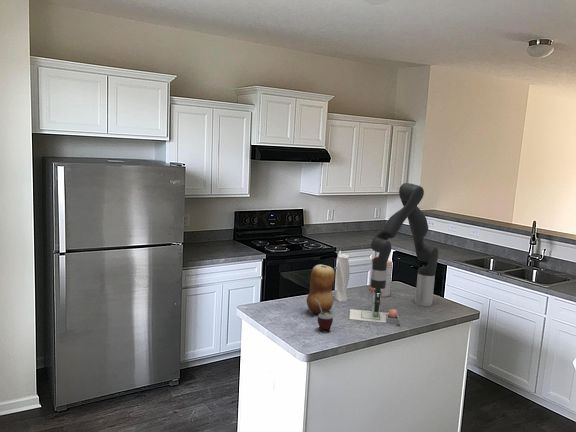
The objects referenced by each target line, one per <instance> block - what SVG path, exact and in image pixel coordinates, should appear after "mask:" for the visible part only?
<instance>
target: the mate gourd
mask: <svg viewBox="0 0 576 432" xmlns="http://www.w3.org/2000/svg"><path fill="white" fill-rule="evenodd" d="M314 300H315V299H314ZM315 301H317V300H315ZM317 302H318V301H317ZM318 304H319V307H320V310H321V313H320V314H318V316H317V324H318V329H319V332H320V333H321V332H327V333H331V327H332V325H333V322H334V319H333V318H334V317H333V315H332V313H331V312H329V311H328V312H322V309H321V306H320V303H319V302H318Z"/></svg>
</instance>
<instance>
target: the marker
mask: <svg viewBox="0 0 576 432" xmlns="http://www.w3.org/2000/svg"><path fill="white" fill-rule="evenodd" d="M372 296H373V295H372ZM376 302H379V301H376ZM374 303H375V301H374V296H373V297H372V307H371V308H372V310H371V311H372V314H373V317H378V316H379V312H381V311H380V310H381V304H380V305H379V312H374V306H375V305H374Z"/></svg>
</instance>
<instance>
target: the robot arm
mask: <svg viewBox="0 0 576 432" xmlns="http://www.w3.org/2000/svg"><path fill="white" fill-rule="evenodd" d="M398 190H399V191H398V194H399V200H400V202H401V203H402V206H403V207H402V208H400V209H399V210H397V212H395V213H394V214H392V215H391V216H389V218H388V220H387V221H386V223H385V224H384V227H383V228H382V229H381V230H380V231H379V232H378V233H377V234H376V235H375V236H374V237H373V239H372V240H371V242H370V243H371V244H370V247H371V250H372V251H373V252H376V253H378V256H374V257H375V258H374V259H373V264H372V263H371V265H372V272H371V271H370V278H371V284H370V283H369V287H370V286H371V287H372V288H375V290H373V291H372V292H373V295H372V296H374V301H375V303H374V305H375V306H374V312H379V305H380V306H381V300H382V297H381V294H382V292H381V290H380V289H384V288H385V287H386V275H387V274H386V269H387V261H388V260H389V258H390V255H391V252H392V243H391V242H390V241H389V239H393V238H396V235H397V234H398V232H399V231H400V229H401V227H402V225H403V224H404V222H405V221H406V220H408V226H409V230H410V231H411V235H412V238H413V244H414V249H415V250H414V251H415V255H416V258H417V260H419V261H420V262H425V263H427V265H426V266H421V267H418V269H417V277H416V278H417V279H416V288H415V299H414V300H415V301H414V303H415V304H416V305H418V306H422V307H430V306H432V305H433V300H434V299H433V298H434V288H435V276H436V271H437V264H438V259H439V249H438V247H437V246H433V245H429V244H425V242H424V238H425V237H426V235H427V233H428V231H429V224H428V220H427V217H426V215H425V214H424V213H423V211H422V210H421V208H419V207H418V205H419V204H420V203H421V201H422V200H423V198H424V195H425V190H424V188H423V187H422V186H420V185H418V184H413V183H408V182H404V183H402V184H401V185H400V187H399V189H398ZM376 301H379V302H376Z"/></svg>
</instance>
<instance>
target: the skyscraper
mask: <svg viewBox="0 0 576 432" xmlns="http://www.w3.org/2000/svg"><path fill="white" fill-rule="evenodd" d="M337 254H338V255H337V259H338V260H337V264H336V270H335V286H336V293H335V296H334V299H335V300H336V301H338V302H348V297H347V289H348V285H349V281H350V273H351V272H350V271H351V270H350V262H349V259H350V257H351V255H350V254H349V255H347V254H345V253H344V254H343V253H342V250H339V252H338V253H337Z"/></svg>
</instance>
